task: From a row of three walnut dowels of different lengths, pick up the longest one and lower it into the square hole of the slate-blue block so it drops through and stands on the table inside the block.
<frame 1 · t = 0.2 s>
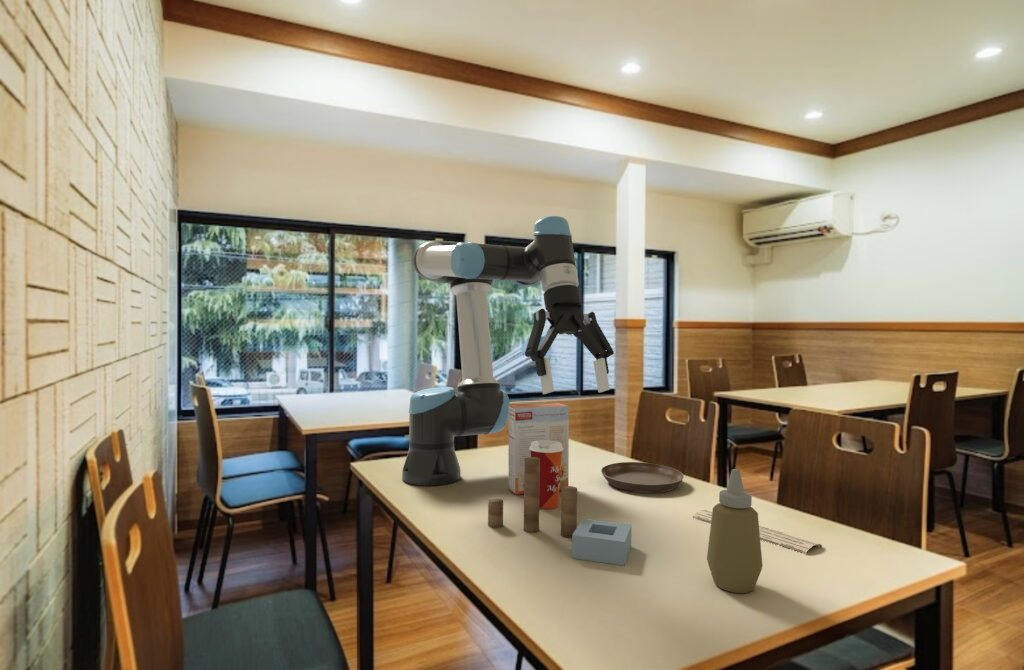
hand: (577, 392, 110), 27 cm above the table, tool tilted 15°, fingers open, 13 cm apart
slate-blue socket block: (602, 551, 100), on the table
long walnut peg: (531, 529, 111), on the table
paper cup: (545, 506, 127), on the table
short walnut peg: (495, 525, 113), on the table
newspaper: (754, 535, 112), on the table
cracker box: (537, 490, 139), on the table
squeeze bottle: (733, 586, 88), on the table
medium walnut peg: (568, 534, 108), on the table
plant saucer: (641, 485, 145), on the table
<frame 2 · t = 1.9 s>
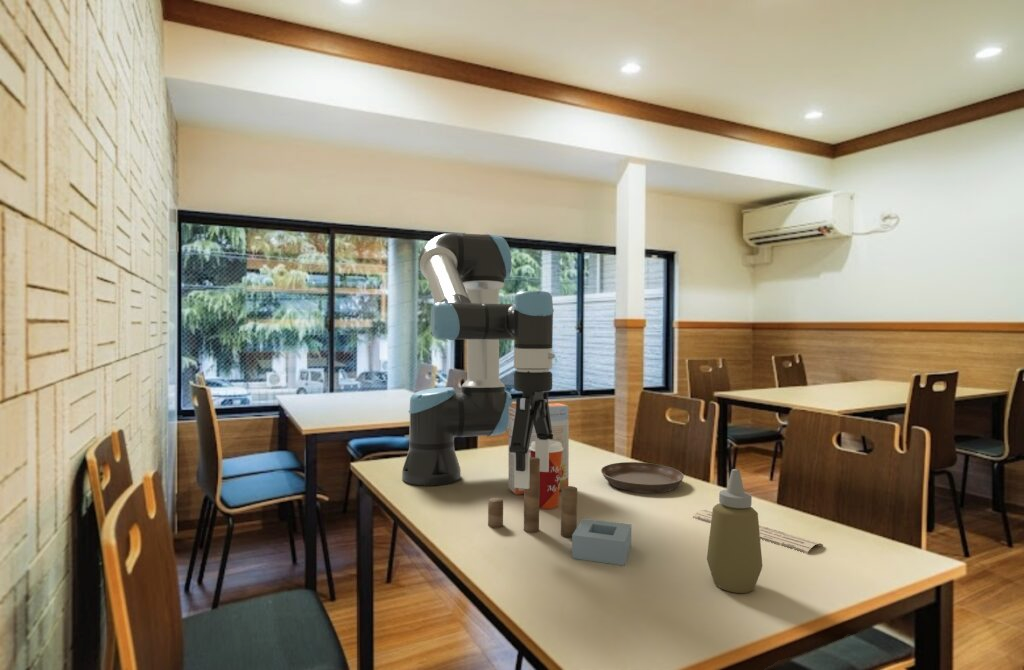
hand: (532, 479, 110), 10 cm above the table, tool pointing down, fingers open, 13 cm apart
nothing on the table moved.
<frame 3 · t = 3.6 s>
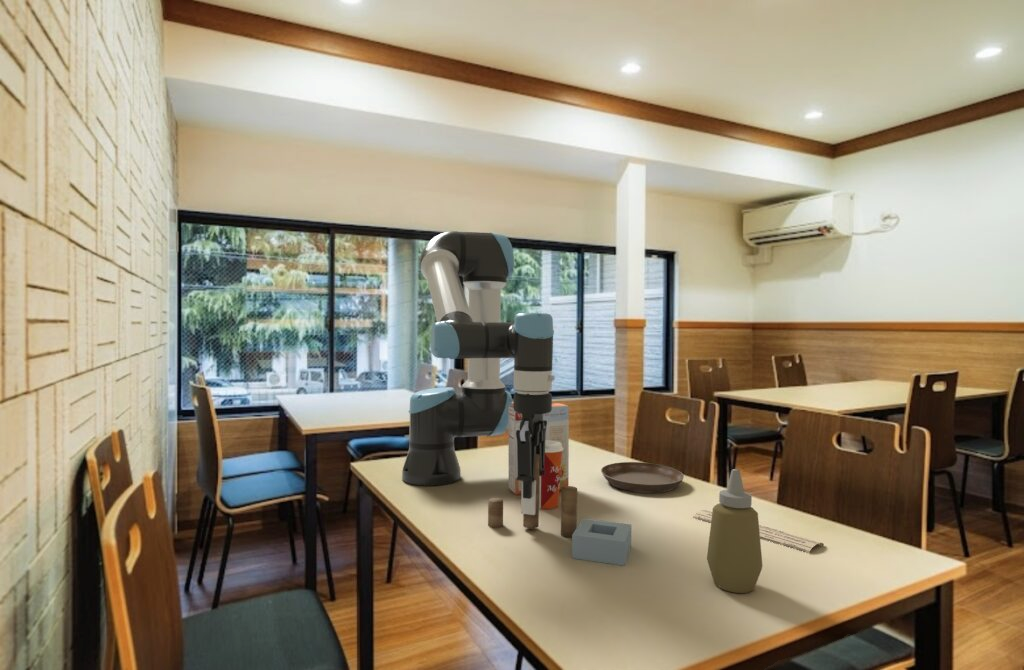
hand: (531, 510, 111), 4 cm above the table, tool pointing down, fingers closed on long walnut peg, 3 cm apart
long walnut peg: (530, 525, 111), point 1 cm above the table, touching gripper
everything else where it was.
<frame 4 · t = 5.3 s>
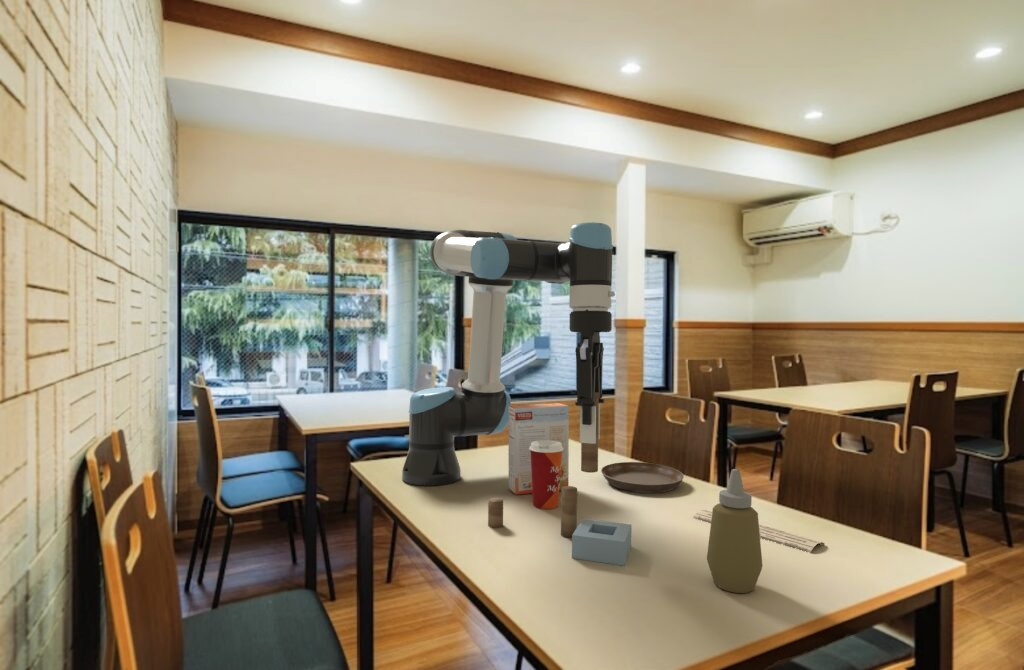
hand: (589, 440, 102), 19 cm above the table, tool pointing down, fingers closed on long walnut peg, 3 cm apart
long walnut peg: (589, 470, 102), point 14 cm above the table, touching gripper
everything else where it was.
when the fingers open (6 cm above the table, at t = 7.6 s): long walnut peg stays where it is, resting in slate-blue socket block.
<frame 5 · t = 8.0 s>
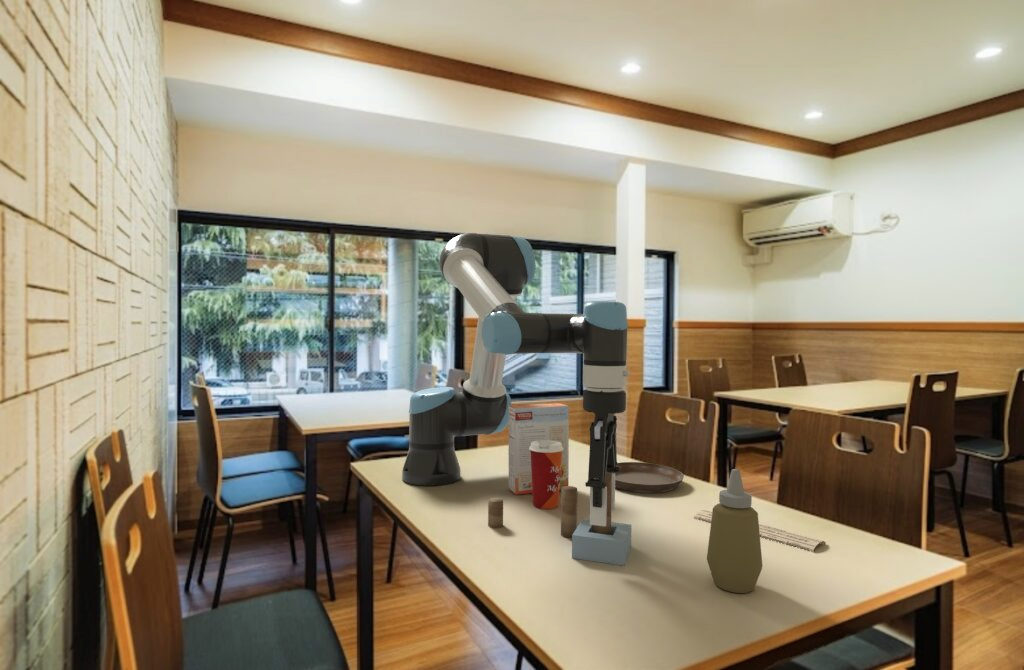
hand: (602, 515, 100), 6 cm above the table, tool pointing down, fingers open, 9 cm apart
long walnut peg: (602, 552, 100), resting in slate-blue socket block
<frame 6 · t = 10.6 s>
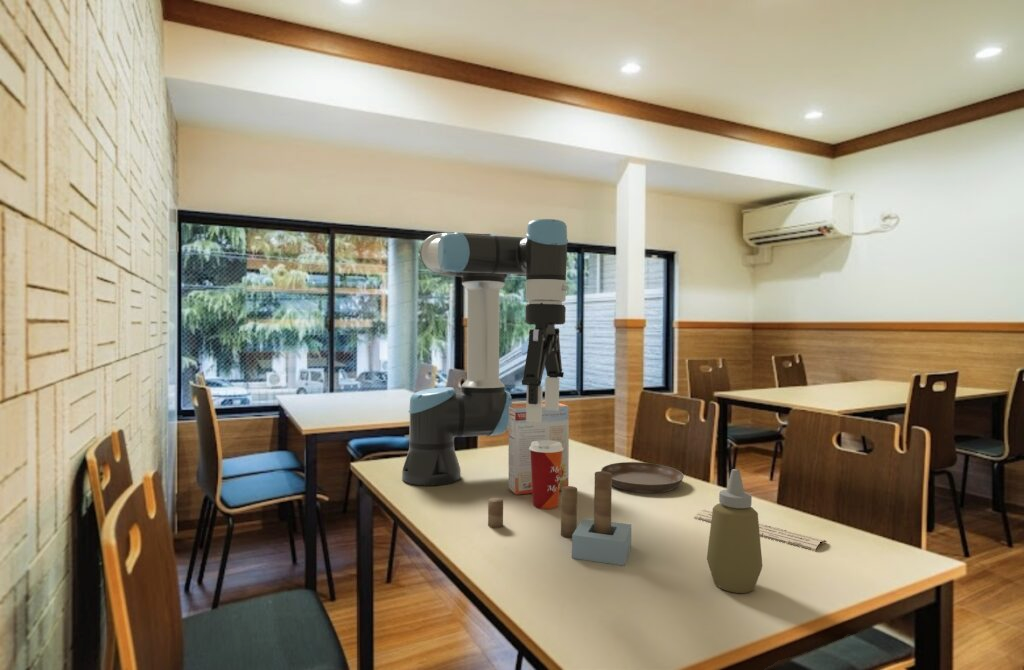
hand: (543, 415, 107), 23 cm above the table, tool pointing down, fingers open, 13 cm apart
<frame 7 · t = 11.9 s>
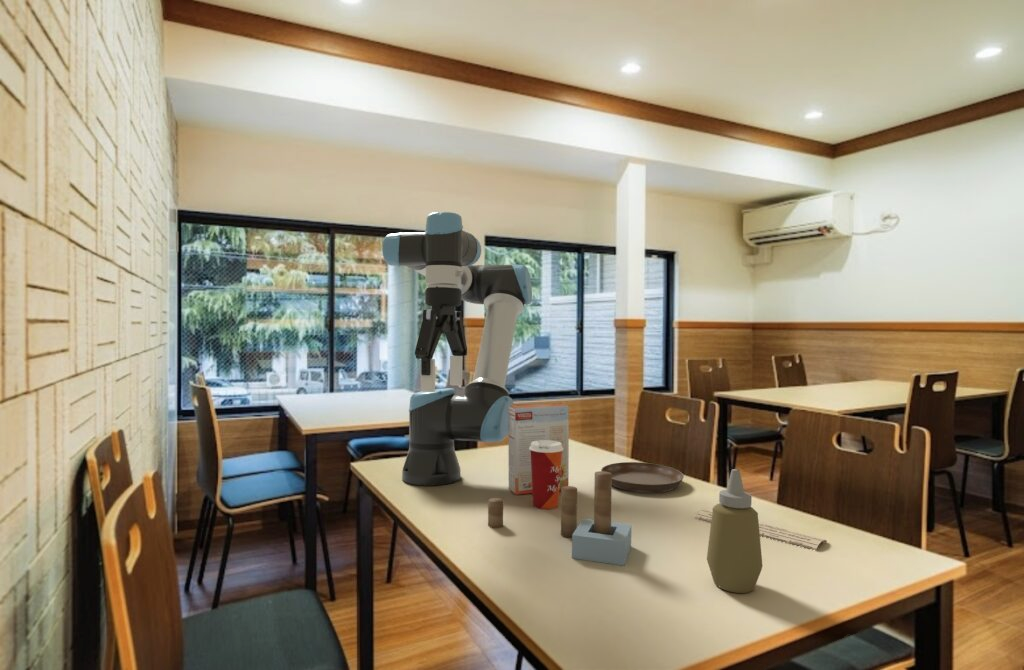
hand: (442, 388, 119), 27 cm above the table, tool pointing down, fingers open, 13 cm apart
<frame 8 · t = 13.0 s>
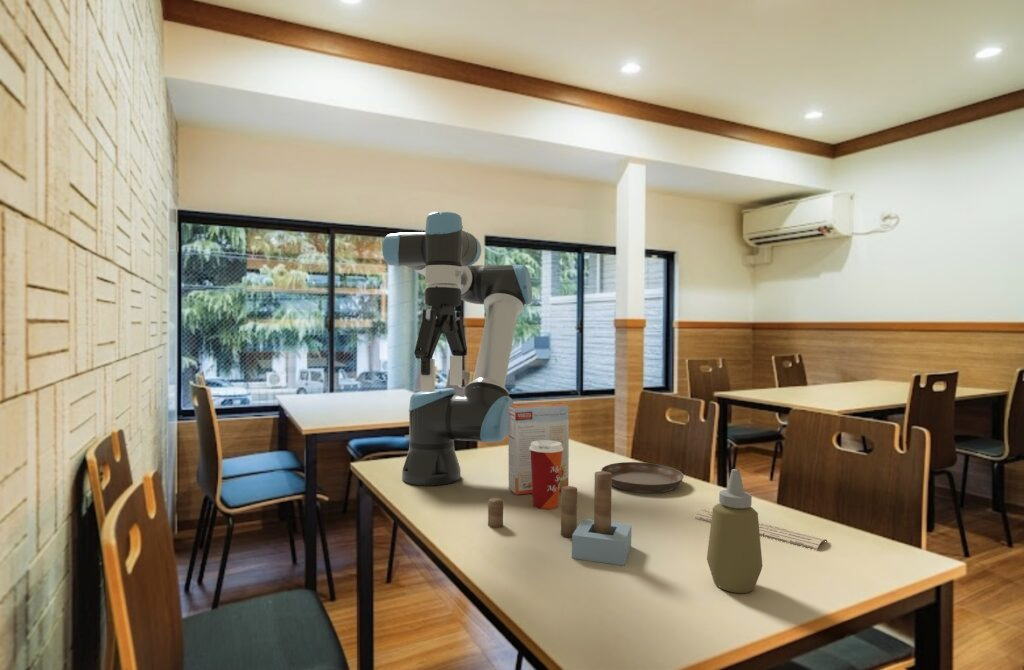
hand: (442, 388, 119), 27 cm above the table, tool pointing down, fingers open, 13 cm apart
at the end: long walnut peg 0.0 cm off-centre on the slate-blue socket block, point 0.0 cm above the slate-blue socket block's base; long walnut peg tilted 0°; the gripper is holding nothing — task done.
